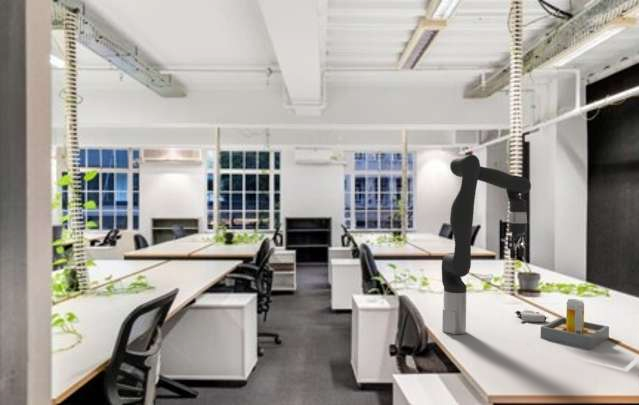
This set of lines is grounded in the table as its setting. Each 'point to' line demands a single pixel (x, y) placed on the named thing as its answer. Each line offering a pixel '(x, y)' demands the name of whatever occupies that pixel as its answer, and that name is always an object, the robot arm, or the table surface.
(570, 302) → the beer can
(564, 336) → the open-top box
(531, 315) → the robot toy
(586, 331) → the plate
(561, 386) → the table surface
